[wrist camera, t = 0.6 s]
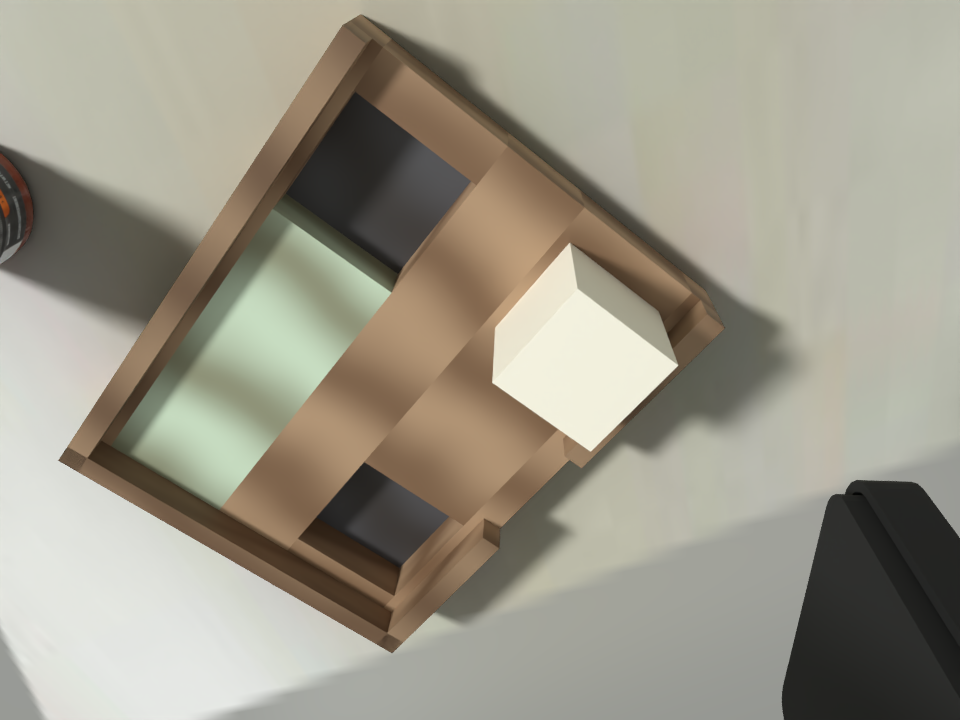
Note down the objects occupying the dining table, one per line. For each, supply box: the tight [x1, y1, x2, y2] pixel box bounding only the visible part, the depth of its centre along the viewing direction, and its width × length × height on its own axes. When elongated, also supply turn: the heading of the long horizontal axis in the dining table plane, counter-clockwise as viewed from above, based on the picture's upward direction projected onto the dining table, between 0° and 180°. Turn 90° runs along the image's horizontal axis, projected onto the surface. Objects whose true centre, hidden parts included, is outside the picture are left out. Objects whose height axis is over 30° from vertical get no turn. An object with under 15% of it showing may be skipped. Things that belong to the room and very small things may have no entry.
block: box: [492, 243, 678, 452], centre depth 35 cm, size 5×5×5 cm
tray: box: [58, 15, 725, 653], centre depth 39 cm, size 24×19×4 cm
